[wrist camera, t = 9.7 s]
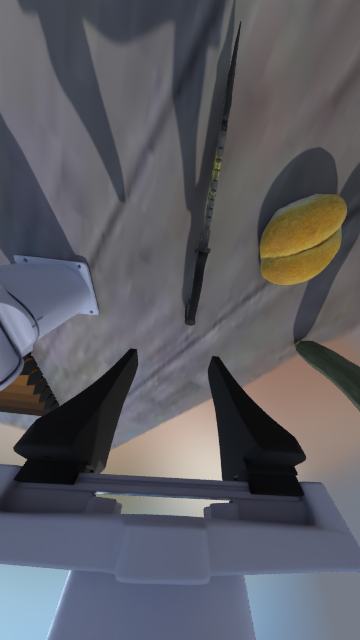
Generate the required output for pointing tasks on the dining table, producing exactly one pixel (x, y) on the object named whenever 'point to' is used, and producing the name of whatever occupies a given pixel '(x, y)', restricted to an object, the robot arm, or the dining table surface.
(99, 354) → the dining table surface
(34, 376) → the pan flute
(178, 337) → the dining table surface
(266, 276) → the bread roll
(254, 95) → the dining table surface
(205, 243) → the knife
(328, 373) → the vegetable
